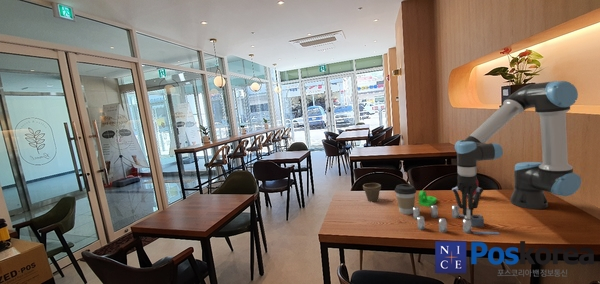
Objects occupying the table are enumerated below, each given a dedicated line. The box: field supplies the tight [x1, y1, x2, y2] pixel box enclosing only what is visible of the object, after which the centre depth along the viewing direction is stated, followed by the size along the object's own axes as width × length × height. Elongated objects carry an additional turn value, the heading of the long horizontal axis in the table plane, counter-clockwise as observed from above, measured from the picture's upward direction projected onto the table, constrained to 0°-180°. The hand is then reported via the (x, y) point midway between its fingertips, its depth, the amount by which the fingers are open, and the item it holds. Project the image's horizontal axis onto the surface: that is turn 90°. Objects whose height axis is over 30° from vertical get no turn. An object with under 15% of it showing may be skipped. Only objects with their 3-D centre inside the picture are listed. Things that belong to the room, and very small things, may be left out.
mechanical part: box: [418, 190, 437, 208], centre depth 153 cm, size 12×6×8 cm, turn 129°
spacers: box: [412, 204, 472, 235], centre depth 126 cm, size 22×19×6 cm
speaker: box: [470, 214, 485, 228], centre depth 122 cm, size 5×5×4 cm
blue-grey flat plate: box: [459, 214, 501, 236], centre depth 122 cm, size 10×20×1 cm, turn 165°
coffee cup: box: [394, 183, 418, 215], centre depth 142 cm, size 11×11×15 cm
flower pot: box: [362, 182, 382, 202], centre depth 166 cm, size 12×11×10 cm
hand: (467, 221), depth 123 cm, fingers closed
